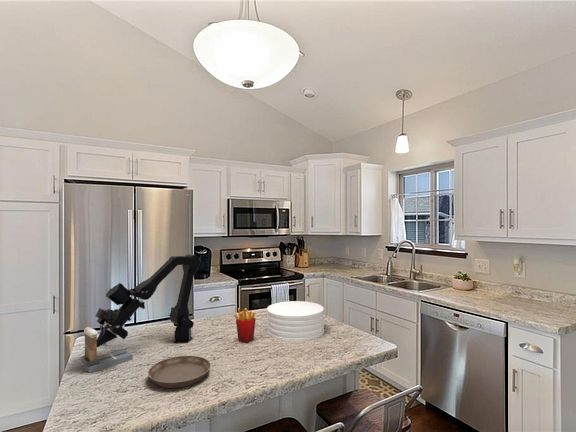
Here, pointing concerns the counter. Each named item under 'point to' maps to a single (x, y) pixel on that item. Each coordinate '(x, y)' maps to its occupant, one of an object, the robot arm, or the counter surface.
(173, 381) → the plant saucer
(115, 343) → the white cup
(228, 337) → the counter surface
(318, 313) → the plate stack
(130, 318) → the robot arm
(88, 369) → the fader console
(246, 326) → the french fries
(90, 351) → the slide lever
